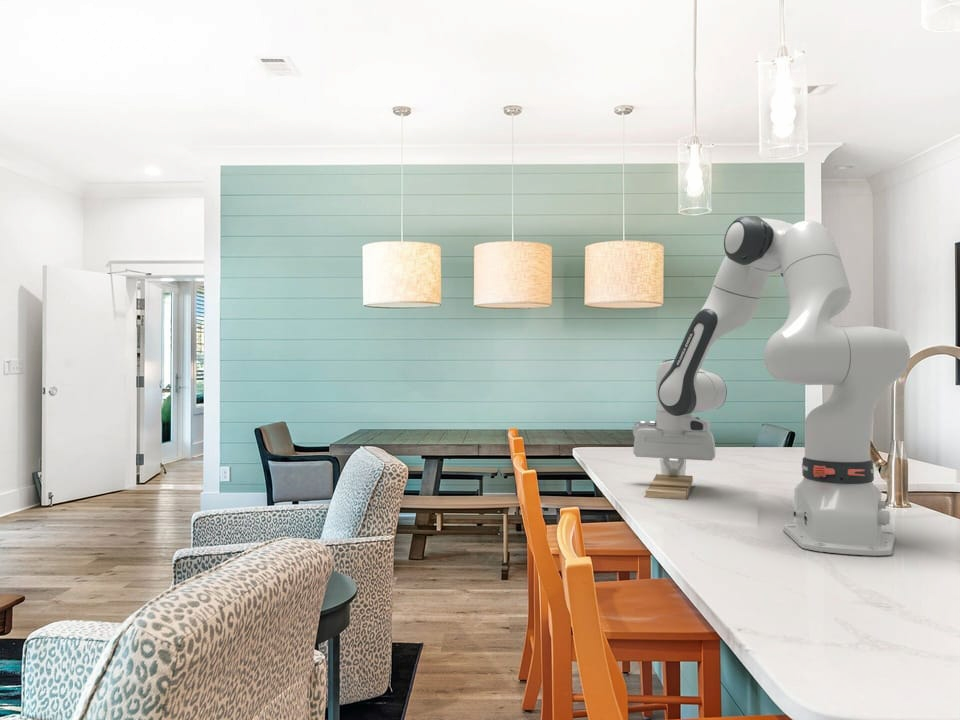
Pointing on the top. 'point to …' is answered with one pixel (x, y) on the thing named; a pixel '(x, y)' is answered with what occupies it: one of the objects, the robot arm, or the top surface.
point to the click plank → (673, 481)
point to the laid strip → (667, 492)
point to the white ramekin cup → (672, 466)
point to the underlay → (687, 496)
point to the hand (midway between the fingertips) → (673, 476)
